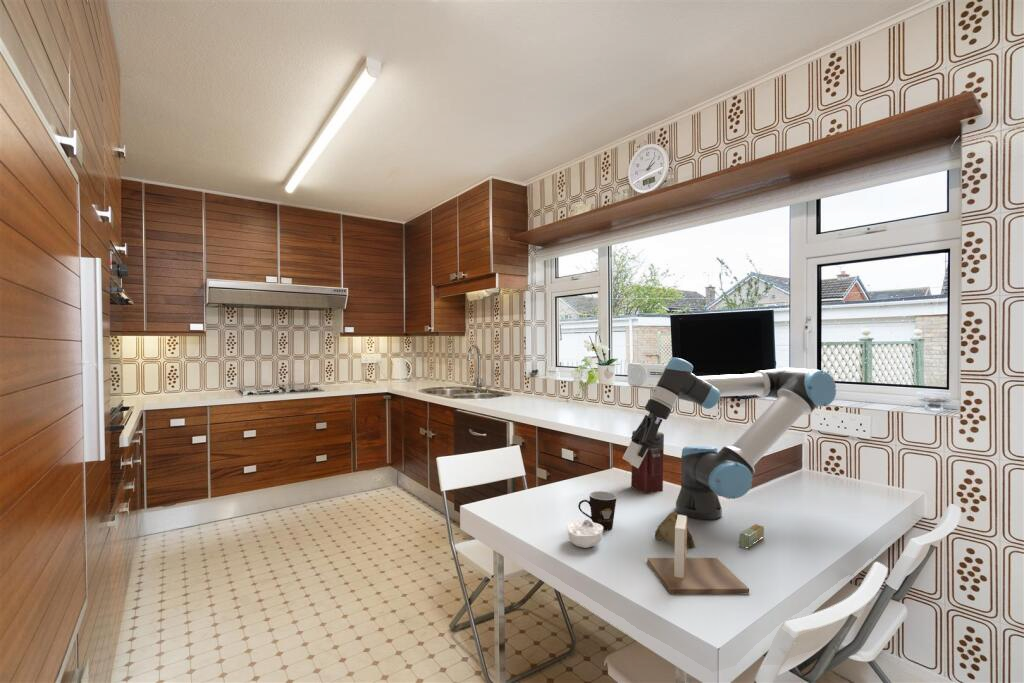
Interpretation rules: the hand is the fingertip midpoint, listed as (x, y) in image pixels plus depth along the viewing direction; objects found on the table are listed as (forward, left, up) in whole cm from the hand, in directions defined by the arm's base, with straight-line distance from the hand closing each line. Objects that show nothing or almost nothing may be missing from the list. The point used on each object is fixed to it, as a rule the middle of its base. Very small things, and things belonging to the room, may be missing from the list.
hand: (629, 463), depth 147 cm
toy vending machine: (-21, -42, -21) cm, 51 cm away
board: (-8, +29, -21) cm, 37 cm away
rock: (-11, +8, -21) cm, 25 cm away
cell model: (+16, +10, -21) cm, 29 cm away
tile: (-5, +27, -20) cm, 34 cm away
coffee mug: (+9, -4, -21) cm, 23 cm away
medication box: (-35, +8, -22) cm, 42 cm away
